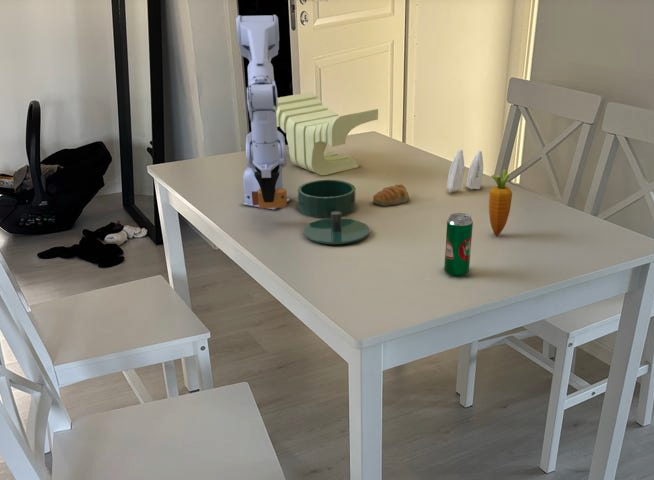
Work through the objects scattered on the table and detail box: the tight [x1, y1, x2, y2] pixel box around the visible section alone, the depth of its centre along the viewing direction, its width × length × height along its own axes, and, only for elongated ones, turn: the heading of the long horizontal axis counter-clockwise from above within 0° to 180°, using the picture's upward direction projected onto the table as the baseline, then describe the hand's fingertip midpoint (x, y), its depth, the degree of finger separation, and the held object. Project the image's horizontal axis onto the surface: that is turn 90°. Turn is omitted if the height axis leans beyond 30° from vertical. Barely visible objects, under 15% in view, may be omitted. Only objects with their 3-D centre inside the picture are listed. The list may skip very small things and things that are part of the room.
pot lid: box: [302, 211, 370, 245], centre depth 170 cm, size 15×15×5 cm
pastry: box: [372, 184, 410, 207], centre depth 189 cm, size 9×7×4 cm
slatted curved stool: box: [274, 91, 379, 176], centre depth 212 cm, size 30×16×18 cm, turn 39°
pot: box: [297, 179, 357, 219], centre depth 185 cm, size 14×14×5 cm
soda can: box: [443, 212, 474, 277], centre depth 149 cm, size 5×5×12 cm
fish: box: [252, 187, 288, 209], centre depth 173 cm, size 8×4×4 cm, turn 95°
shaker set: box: [446, 149, 484, 193], centre depth 194 cm, size 12×4×11 cm, turn 122°
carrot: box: [488, 169, 513, 237], centre depth 165 cm, size 5×5×15 cm
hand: (269, 199), depth 173 cm, fingers closed on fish, 3 cm apart
